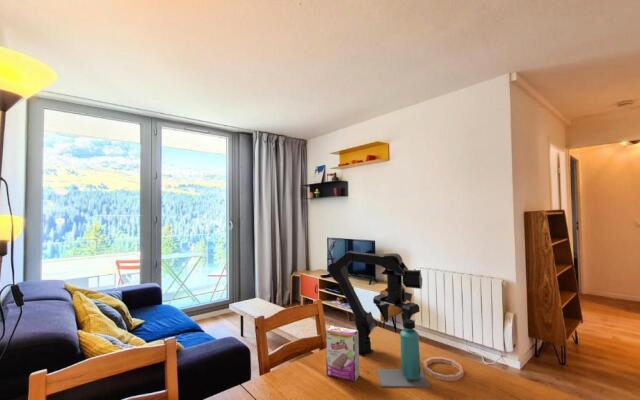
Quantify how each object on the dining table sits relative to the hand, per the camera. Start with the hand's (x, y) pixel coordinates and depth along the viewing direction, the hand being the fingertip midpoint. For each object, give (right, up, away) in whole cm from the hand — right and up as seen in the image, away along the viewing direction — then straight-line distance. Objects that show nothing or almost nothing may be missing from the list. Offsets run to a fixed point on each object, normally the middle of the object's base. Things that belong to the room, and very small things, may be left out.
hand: (395, 325), depth 119 cm
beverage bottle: (+2, -12, -15) cm, 19 cm away
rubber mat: (-1, -13, -14) cm, 19 cm away
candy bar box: (-22, -14, -11) cm, 28 cm away
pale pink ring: (+15, -13, -9) cm, 21 cm away
